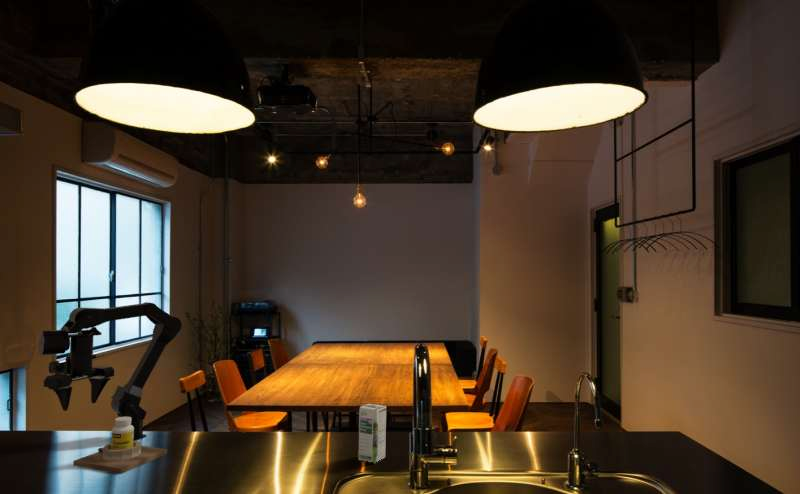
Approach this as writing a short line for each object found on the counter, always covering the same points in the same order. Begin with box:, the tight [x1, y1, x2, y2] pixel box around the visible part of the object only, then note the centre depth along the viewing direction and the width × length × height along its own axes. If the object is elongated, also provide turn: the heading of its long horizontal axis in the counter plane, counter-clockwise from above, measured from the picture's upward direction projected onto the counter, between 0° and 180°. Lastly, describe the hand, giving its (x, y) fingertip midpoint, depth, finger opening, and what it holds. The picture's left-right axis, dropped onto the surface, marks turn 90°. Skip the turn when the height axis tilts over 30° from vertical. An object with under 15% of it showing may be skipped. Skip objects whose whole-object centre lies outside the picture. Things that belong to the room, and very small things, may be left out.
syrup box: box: [357, 403, 387, 464], centre depth 152 cm, size 6×6×14 cm
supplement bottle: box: [110, 416, 134, 450], centre depth 149 cm, size 5×5×10 cm
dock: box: [72, 440, 168, 475], centre depth 149 cm, size 16×16×4 cm
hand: (79, 406), depth 157 cm, fingers open, 9 cm apart
